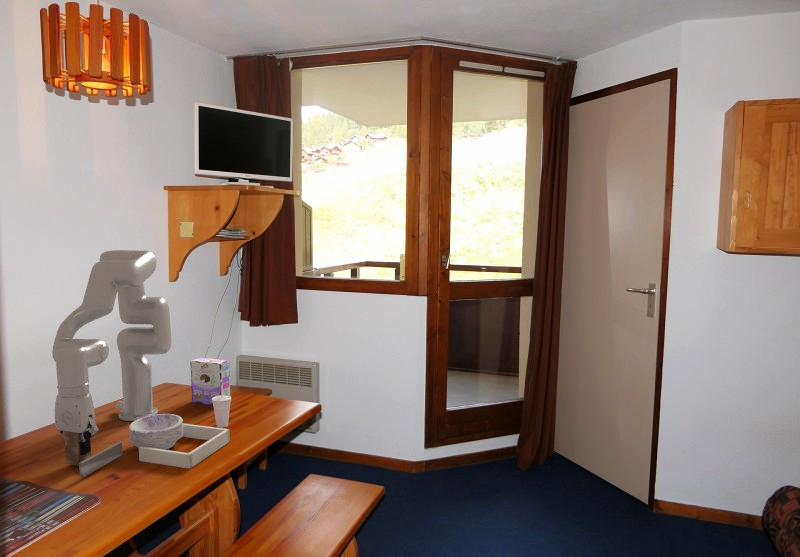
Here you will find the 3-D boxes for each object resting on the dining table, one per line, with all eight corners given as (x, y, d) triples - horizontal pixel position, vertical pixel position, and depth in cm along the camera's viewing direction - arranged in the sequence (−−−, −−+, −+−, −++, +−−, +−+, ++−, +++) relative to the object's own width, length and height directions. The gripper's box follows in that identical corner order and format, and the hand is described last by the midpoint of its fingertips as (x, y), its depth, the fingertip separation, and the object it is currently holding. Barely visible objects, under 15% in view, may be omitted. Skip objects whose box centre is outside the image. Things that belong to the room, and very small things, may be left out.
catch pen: (139, 460, 163) (138, 447, 163) (183, 435, 182) (183, 423, 182) (189, 468, 159) (189, 454, 158) (229, 441, 178) (229, 429, 177)
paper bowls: (130, 461, 163) (129, 434, 162) (129, 442, 177) (127, 417, 176) (186, 451, 170) (185, 426, 169) (180, 434, 184) (179, 410, 183)
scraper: (51, 471, 154) (48, 436, 153) (92, 449, 167) (90, 417, 166) (83, 477, 151) (81, 441, 150) (122, 454, 165) (120, 421, 163)
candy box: (231, 401, 216) (230, 359, 214) (221, 406, 210) (220, 363, 208) (201, 397, 220) (200, 356, 218) (191, 402, 215) (189, 360, 213)
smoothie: (235, 422, 194) (234, 383, 192) (227, 429, 188) (226, 388, 186) (217, 421, 195) (216, 382, 193) (209, 428, 188) (207, 388, 187)
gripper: (38, 391, 156) (43, 453, 159) (87, 397, 151) (92, 462, 154) (61, 383, 163) (65, 443, 166) (109, 388, 159) (112, 450, 161)
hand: (78, 451), depth 160 cm, fingers closed on scraper, 4 cm apart
